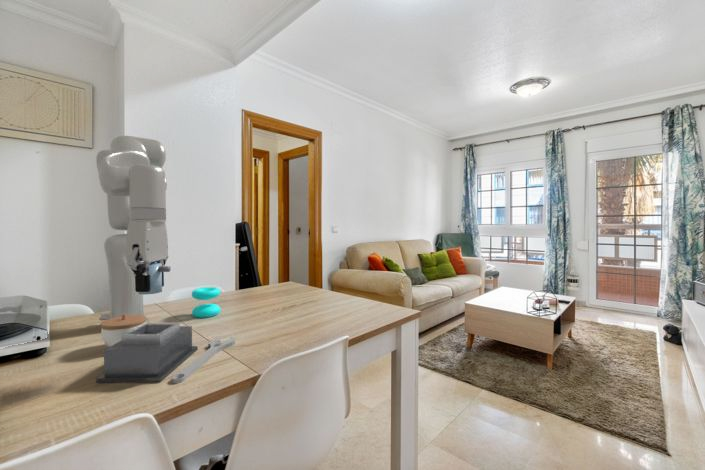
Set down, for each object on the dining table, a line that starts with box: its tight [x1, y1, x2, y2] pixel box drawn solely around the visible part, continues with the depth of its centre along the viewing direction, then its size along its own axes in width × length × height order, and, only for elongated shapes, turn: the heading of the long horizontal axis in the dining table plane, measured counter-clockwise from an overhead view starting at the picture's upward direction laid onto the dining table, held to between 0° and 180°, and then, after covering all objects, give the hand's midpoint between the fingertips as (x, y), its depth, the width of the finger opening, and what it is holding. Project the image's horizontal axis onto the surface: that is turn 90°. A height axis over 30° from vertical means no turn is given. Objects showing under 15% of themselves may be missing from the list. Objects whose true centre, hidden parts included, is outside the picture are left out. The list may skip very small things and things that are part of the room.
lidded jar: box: [99, 314, 148, 348], centre depth 91 cm, size 11×11×9 cm
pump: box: [138, 262, 172, 295], centre depth 79 cm, size 7×5×7 cm
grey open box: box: [96, 322, 198, 384], centre depth 79 cm, size 14×18×9 cm
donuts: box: [191, 286, 221, 319], centre depth 122 cm, size 10×10×10 cm
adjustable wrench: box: [172, 336, 236, 384], centre depth 83 cm, size 25×6×2 cm, turn 171°
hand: (150, 288), depth 79 cm, fingers closed on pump, 5 cm apart
